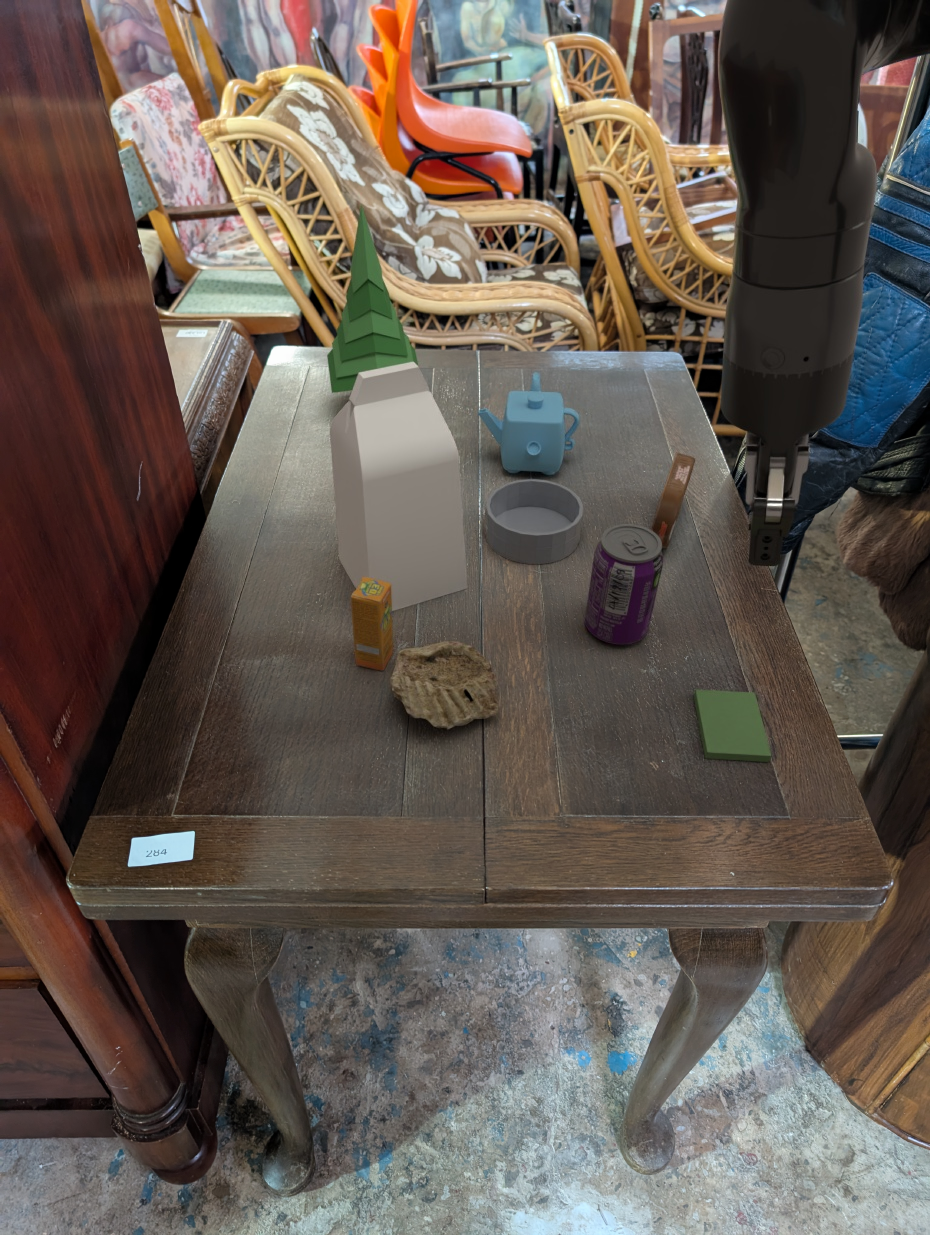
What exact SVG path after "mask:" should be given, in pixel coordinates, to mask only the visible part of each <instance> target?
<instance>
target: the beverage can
mask: <svg viewBox="0 0 930 1235" xmlns="http://www.w3.org/2000/svg"><path fill="white" fill-rule="evenodd" d="M662 549H663V547H662V542H661V539H660V538H659V536H658V535H657V534H656V533H654V532H653V531H652V530H651V528H648V527H646V526H642V525H639V524H634V523H621V524H615V525H613V526H610V527H608V528H607V529H605V530H604V531H603V533H602V534H601V538H600V541H599V542H598V544H597V545H596V546H595V549H594V553H593V560H592V567H591V574H590V580H589V587H588V594H587V600H586V601H587V602H586V606H585V607H586V608H585V614H584V624H585V627H586V628H587V629H588V631H589V633H591V634H592V635H593V636H594V637H596V638H597V639H599V640H601V641H603V642H606V643H608V644H614V645H628V644H629V645H630V644H633V643H636V642H638V641H641V640H642V639H643V638H645V637H646V635H647V634H648V632H649V629H650V625H651V620H652V616H653V611H654V607H655V603H656V598H657V593H658V589H659V584H660V579H661V574H662V570H663V565H664V560H665V559H664V554H663V552H662Z"/></svg>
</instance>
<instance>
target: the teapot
mask: <svg viewBox="0 0 930 1235" xmlns="http://www.w3.org/2000/svg"><path fill="white" fill-rule="evenodd" d="M529 388H530V389H529V390H511V391H509V393H508V395H507V400H506V404H505V409H504V414H503V418H502V420H500V419H499V418H498V417H497V416H496V415H494V413H493V412H491V410H489V409H488V407H486V408H481V409H477V410H478V412H477V414H478V416H479V417H480V419H481V420H482V422H483V424H484V426H486V428H487V429H488V431H489V432H490V434H491V435H492V437H493V438H494V440H495V441H496V443H497V445H499V446H500V457H501V458H500V459H501V463H502V467H503V469H504V470H505V471H507V472H508V473H510V474H518V473H520V472H521V471H522V472H541V474H543V475H546V476H552V475H554V474H556V473H557V472H559V471H560V469H561V467H562V464H563V460H564V454H565V451H571V450H572V449H574V447H575V445H576V442H575V441H576V440H575V439H574V437H573V438H572V436H573V435H574V434H575V433H576V431H577V429H578V428H579V425H580V423H581V422H580V421H581V418H580V415H579V414H578V412H577V411H576V410H575V409H573V408H570V407H564V399H563V395H562V394H561V393H560V392H555V391H554V392H553V391H542V389H541V375H540V373H539V372H536V371H535V372H534V373H533V374H532V377H531V384H530V387H529ZM565 415H568V416H570V417H572V418H573V419H574V420H573V423H572V425H571V427H570V428H569V429H568V430H567V432H566V419H565ZM567 442H569V443H568V444H567Z"/></svg>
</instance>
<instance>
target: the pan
mask: <svg viewBox="0 0 930 1235" xmlns="http://www.w3.org/2000/svg"><path fill="white" fill-rule="evenodd" d="M584 509H585V508H584V504H583V502H582V500H581V497H579V496H578V494H576V493H575V491H574V490H572V489H571V488H569V487H566V486H565V485H563V484H561V483H558V482H554V481H550V480H547V479H537V478H525V479H516V480H513V481H509V482H506V483H503V484H501V485H500V486H498V487H496V488H495V489H493V491H492V492H490V494H489V495H488V496H487V499H486V503H485V514H484V516H485V518H484V519H485V520H484V522H485V524H484V532H485V539H486V542H487V544H488V545H489V547H490V549H492V550H493V551H494V552H495V553H496V554H498V555H499V556H501V557H503V558H505V559H507V560H509V561H512V562H515V563H519V564H525V565H545V564H551V563H555V562H559V561H561V560H564V559H566V558H567V557H568V556H570V555H572V554H573V552H575V551H576V549H577V548H578V546H579V543H580V539H581V531H582V523H583V517H584V516H583V515H584Z"/></svg>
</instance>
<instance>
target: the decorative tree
mask: <svg viewBox="0 0 930 1235" xmlns="http://www.w3.org/2000/svg"><path fill="white" fill-rule="evenodd" d="M355 233H356V234H355V239H354V246H353V252H352V259H351V264H350V269H349V270H350V281H349V285H348V288H347V291H346V295H345V298H346V299H345V300H346V302H345V305H344V307H343V310H342V312H341V321H340V322H339V325H338V326H337V328H336V336H335V338H334V339H333V341H332V342H331V347H332V348H331V350H330V351H329V352H328V353H327V356H326V358H327V366H328V371H329V372H328V374H329V381H330V382H329V383H330V391H331V394H335V393H343V392H349V391H351V392H352V390H353V387H354V384H355V381H356V379H357V376H358V373H359V372H364V371H369V370H374V369H379V368H384V367H389V366H394V365H399V364H404V363H409V362H414V363H415V364H416V365H417V366H418V367H419V363H418V362H419V361H418V357H417V352H416V348H415V347H414V346H413V345H412V344H411V341H410V337H409V336H408V335H407V334H406V332H405V330H404V325H403V323H402V322H401V320H400V319H399V318H398V314H397V310H396V308H395V306H394V304H393V303H392V301H391V298H390V291H389V290H388V287H387V286H386V283H385V280H384V278H383V271H382V266H381V261H380V260H379V256H378V252H377V250H376V246H375V244H374V240H373V237H372V234H371V230H370V227H369V224H368V220H367V217H366V213H365V211H364V208H363V204H362V203H361V204H360V209H359V214H358V221H357V227H356V232H355Z"/></svg>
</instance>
